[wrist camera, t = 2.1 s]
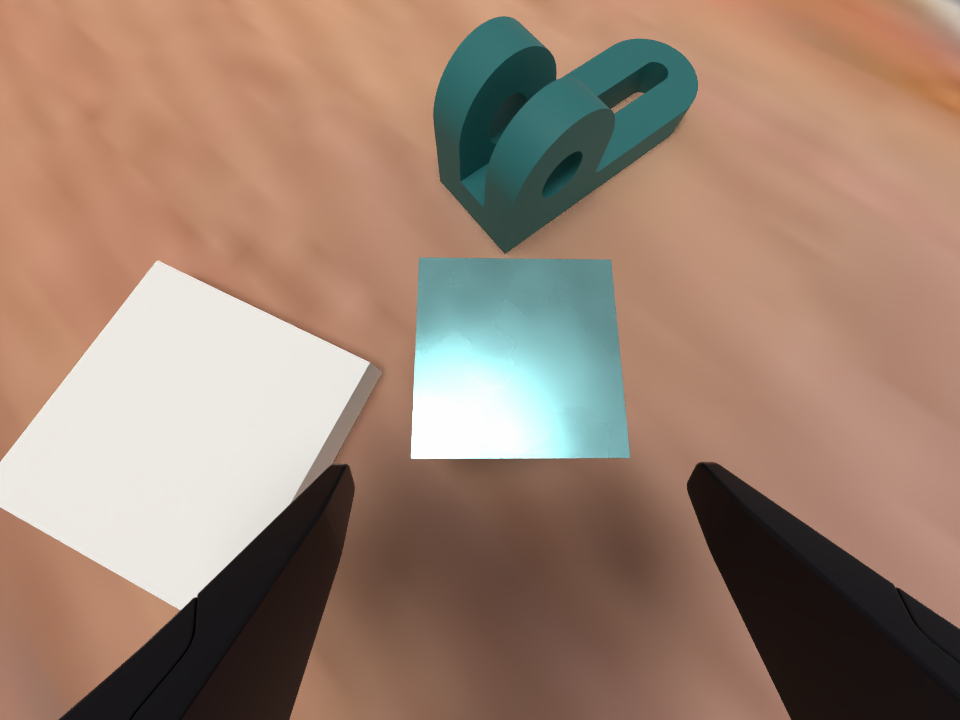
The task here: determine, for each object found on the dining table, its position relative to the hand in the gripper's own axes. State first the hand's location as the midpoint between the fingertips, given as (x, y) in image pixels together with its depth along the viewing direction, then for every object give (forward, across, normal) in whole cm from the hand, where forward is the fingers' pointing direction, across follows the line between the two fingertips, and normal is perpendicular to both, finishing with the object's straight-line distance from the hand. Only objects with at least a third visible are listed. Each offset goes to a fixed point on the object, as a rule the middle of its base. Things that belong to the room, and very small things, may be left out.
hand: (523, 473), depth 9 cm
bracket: (+22, -6, -7) cm, 24 cm away
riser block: (+9, +15, +7) cm, 19 cm away
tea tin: (+10, 0, +5) cm, 11 cm away
